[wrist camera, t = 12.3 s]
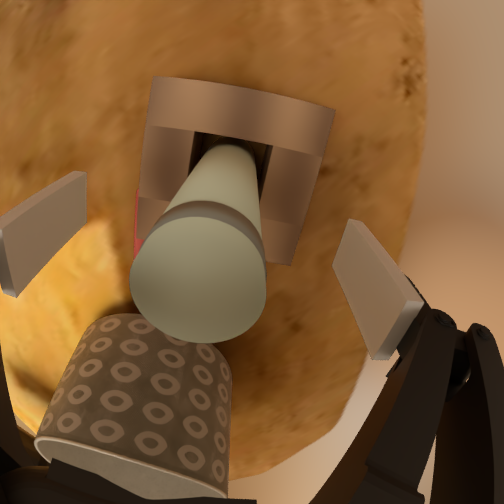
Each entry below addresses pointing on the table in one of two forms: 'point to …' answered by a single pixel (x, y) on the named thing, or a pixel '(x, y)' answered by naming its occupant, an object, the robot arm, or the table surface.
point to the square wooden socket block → (243, 127)
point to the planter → (143, 411)
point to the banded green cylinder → (206, 252)
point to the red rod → (136, 241)
